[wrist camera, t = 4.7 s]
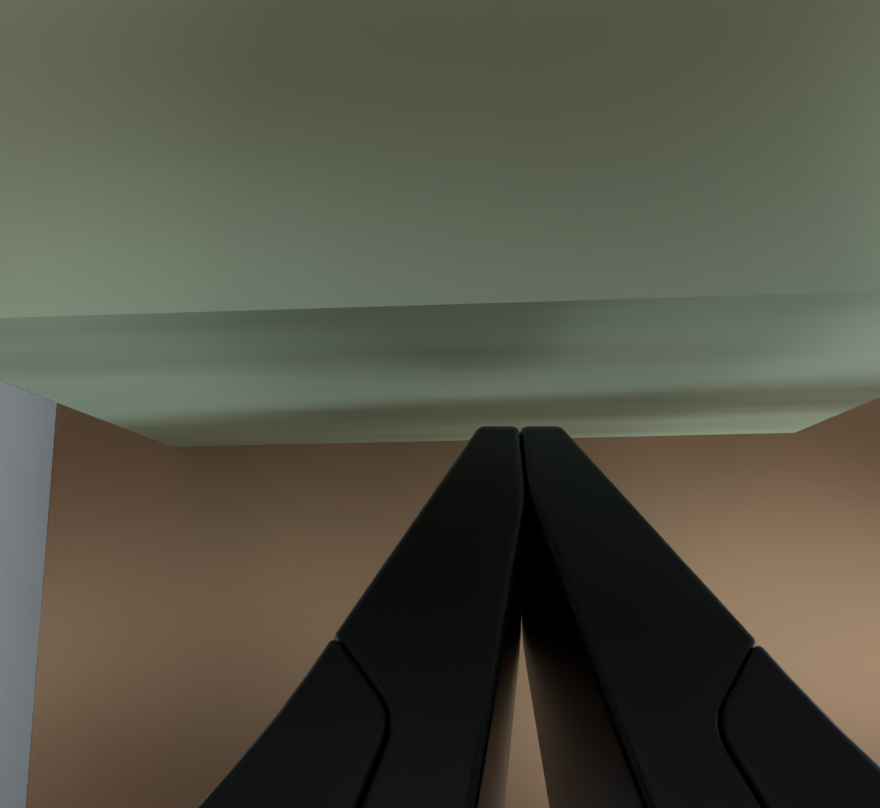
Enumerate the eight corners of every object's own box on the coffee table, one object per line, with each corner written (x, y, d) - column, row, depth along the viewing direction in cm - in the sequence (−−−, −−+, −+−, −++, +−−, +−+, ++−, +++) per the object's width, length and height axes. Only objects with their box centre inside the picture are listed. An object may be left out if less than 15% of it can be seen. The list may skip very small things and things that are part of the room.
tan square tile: (892, 795, 14) (978, 844, 12) (99, 798, 15) (22, 845, 12) (819, 156, 16) (877, 84, 14) (136, 181, 17) (79, 117, 15)
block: (794, 433, 13) (1151, 282, 6) (172, 446, 13) (-154, 322, 6) (765, 143, 14) (1043, -270, 7) (186, 164, 14) (-85, -204, 7)
